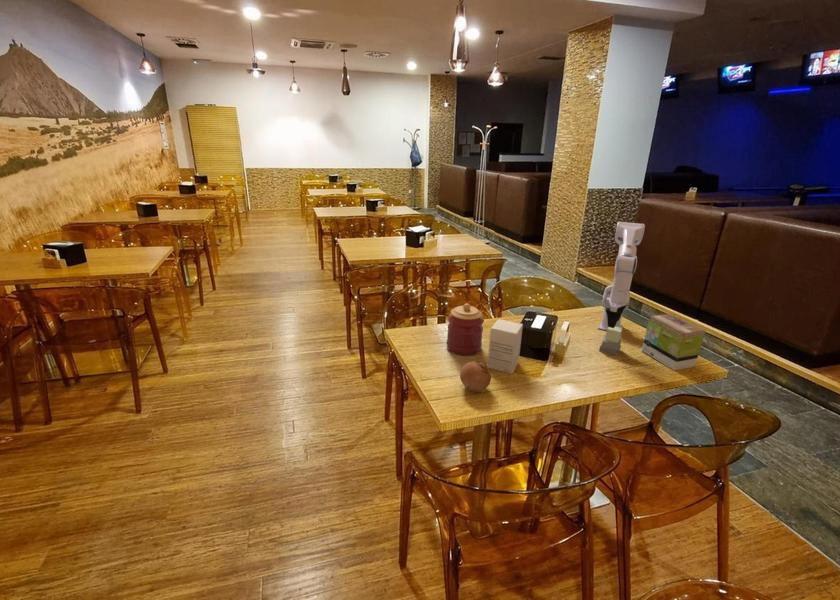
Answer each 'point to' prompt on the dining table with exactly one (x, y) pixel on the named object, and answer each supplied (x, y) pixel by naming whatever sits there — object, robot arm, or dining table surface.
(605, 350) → the slab bottom
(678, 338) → the tea box
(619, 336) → the sage block
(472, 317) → the canister
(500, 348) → the supplement box
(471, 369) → the onion
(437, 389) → the dining table surface
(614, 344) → the slab top
